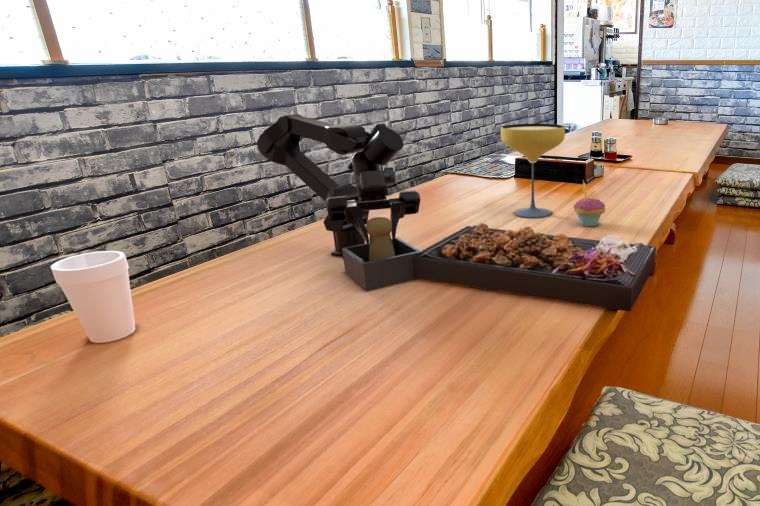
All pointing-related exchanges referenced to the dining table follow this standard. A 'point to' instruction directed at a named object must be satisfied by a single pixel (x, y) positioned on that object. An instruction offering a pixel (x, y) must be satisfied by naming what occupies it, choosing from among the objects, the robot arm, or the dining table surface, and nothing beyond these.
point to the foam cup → (98, 293)
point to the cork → (380, 238)
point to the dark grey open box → (380, 265)
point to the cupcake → (589, 210)
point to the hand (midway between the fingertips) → (381, 241)
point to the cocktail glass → (532, 151)
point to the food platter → (541, 265)
